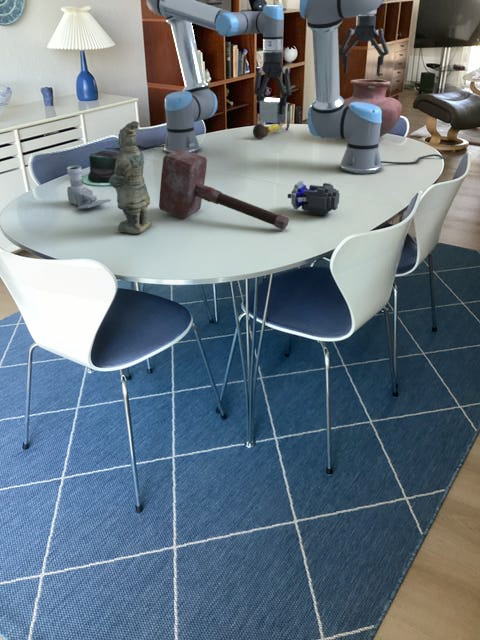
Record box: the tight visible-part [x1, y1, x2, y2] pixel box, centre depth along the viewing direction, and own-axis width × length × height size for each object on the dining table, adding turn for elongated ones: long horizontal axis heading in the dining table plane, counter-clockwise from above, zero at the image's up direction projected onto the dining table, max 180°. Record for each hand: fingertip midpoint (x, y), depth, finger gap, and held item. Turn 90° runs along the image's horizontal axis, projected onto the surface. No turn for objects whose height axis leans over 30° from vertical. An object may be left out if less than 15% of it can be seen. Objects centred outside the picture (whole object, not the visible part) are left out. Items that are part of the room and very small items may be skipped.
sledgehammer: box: [158, 149, 290, 231], centre depth 163 cm, size 17×10×40 cm
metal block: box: [259, 97, 286, 124], centre depth 224 cm, size 8×8×8 cm
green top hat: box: [82, 150, 119, 186], centre depth 207 cm, size 15×19×20 cm
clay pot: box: [343, 78, 403, 138], centre depth 248 cm, size 30×30×25 cm
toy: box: [287, 180, 341, 216], centre depth 168 cm, size 9×9×15 cm
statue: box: [109, 120, 153, 235], centre depth 154 cm, size 11×9×30 cm
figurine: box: [252, 121, 290, 139], centre depth 265 cm, size 13×8×25 cm
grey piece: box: [66, 165, 112, 210], centre depth 178 cm, size 9×12×15 cm
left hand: (272, 113), depth 225 cm, fingers closed on metal block, 8 cm apart
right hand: (361, 73), depth 231 cm, fingers open, 13 cm apart
